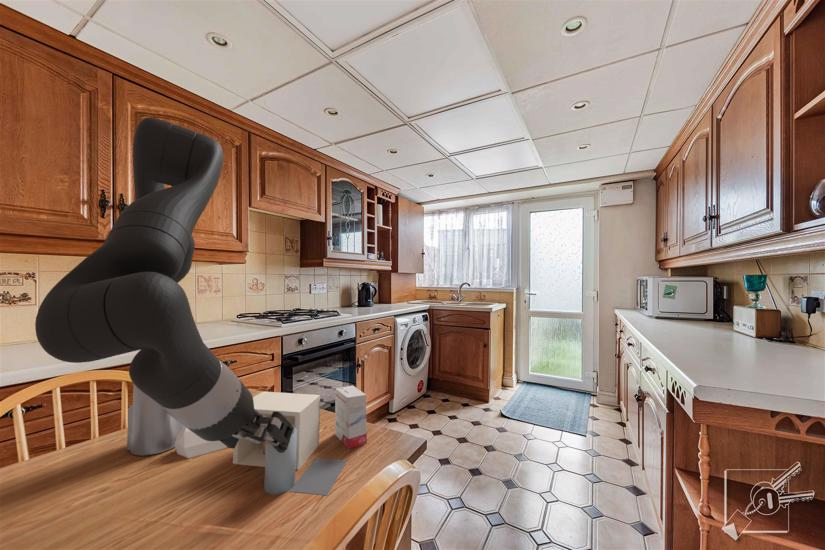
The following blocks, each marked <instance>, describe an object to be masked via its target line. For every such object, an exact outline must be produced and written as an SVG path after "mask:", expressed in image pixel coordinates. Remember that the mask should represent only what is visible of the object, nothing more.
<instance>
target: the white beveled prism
mask: <svg viewBox="0 0 825 550" xmlns="http://www.w3.org/2000/svg"><path fill="white" fill-rule="evenodd" d="M174 448H175V451H176V453H177V455H180V456H182V457H184V458H187V459H191V458H195V457H198V456H199V457H200V456H202V455H206V454H209V453H213V452H217V451H220V450H224V449H229V448H228V447H227V446H226V445H224V444H223V443H222V442H220V441H206V440H204V439H202V438H200V437H199V436H197V435H196V434H195V433H193V432H192V431H191V430H189V429H188V428H186V427H185V426H184V425H183V427H182V429H181V430H180V432H179V434H178V435H177V438H176V441H175V447H174Z"/></svg>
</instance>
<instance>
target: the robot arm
mask: <svg viewBox="0 0 825 550" xmlns="http://www.w3.org/2000/svg"><path fill="white" fill-rule="evenodd" d="M133 137H134V138H133V144H132V170H133V183H134V184H133V185H134V201H133V202H130V203H129V204H128V205H126V207H125V208H124V209H123V210H122V211H121V212H120V214H119V216H118V217H117V219H116V221H115V222H114V224H113V226H112V227H111V229H110V231H109V233H108V235H107V236H106V238H105V240H104V242H103V243H102V245H101V246H100V247H98V248H97V249H96V250H94V251H93V252H92V253H90V254H89V255H88V256H86V257H85V258H84V259H83V260H82V261H80V263H78V264H77V265H76V266H75V267H73V269H71V270H70V271H69V272H68V273H67V274H66V275H65V276H63V277H62V278H61V279H60V280H59V281H57V283H56V284H55V285H54V286H53V287H52V288H51V289H50V290H49V291H48V292H47V294H46V295H45V297H44V299H43V300H42V301H41V304H40V306H39V308H38V311H37V314H36V317H35V323H34V324H35V328H34V329H35V336H36V339H37V341H38V343H39V344H40V347H42V349H43V350H44V351H45V352H46V353H47V354H48V355H49V356H51V357H52V358H54V359H56V360H59V361H62V362H66V363H67V362H68V363H73V364H74V363H75V364H78V363H79V364H81V363H91V362H96V361H99V360H104V359H108V358H112V357H115V356H120V355H123V354H129V353H131V352H136V351H137V353H136V354H135V355H134V356H133V358H132V360H131V362H130V364H129V368H128V375H129V378H130V380H131V382H132V383H133V389H132V390H133V391H132V392H133V393H132V404H131V405H129V406H128V408H127V409H128V413H127V435H126V437H127V438H126V450H127V451H130V453H131V454H132V455H134V456H150V455H156V454H160V453H164V452H166V451H170V450H171V449H173V448H175V441H176V438H177V435H178V434H179V432H180V430H181V429H182V427H183V426H185V427H186V428H188V429H189V430H191V431H192V432H193V433H195V434H196V435H197V436H199V437H200V438H202V439H204V440H206V441H220V442H222V443H223V444H224V445H226V446H227V447H228V448H227V449H234V448H235V447H236V445H237V442H238V440H239V439H242V438H244V439H247V440H249V441H252V442H254V443H257V444H260V443H263V442H265V443H268V444H270V445H272V446H273V447H274V448H275V449H276V450H277V451H278V452H279V453H284V452H285V450H287V448H288V445H289V442H290V438H291V435H292V432H293V429H294V427H293V426H292V425H291V424H290V423H289V422H288V421H287V419H286V418H285V417H284V416H283V415H282V414H281V413H279V412H273V413H272V416H271V417H267V416H265V415H263V414H261V413H259V412H258V411H257V410H256V409H254V402H253V397H254V396H253V395H252V393H251V391H250V390H249V388H247V386H246V385H245V384H244V383H243V382H242V381H241V379H240V378H239V377H238V376H237V375H236V374H235V373H234V372H233V371H232V369H230V367H229V366H228V365H227V364H226V363H223V362H222V361H221V360H220V359H218V357H217V356H216V355H215V354H214V353H213V352H212V350H211V349H210V348H209V347H208V346H207V345H206V344H205V343H204V341H203V339H202V336H201V334H200V332H199V329H198V327H197V324H196V322H195V318H194V316H193V313H192V309H191V306H190V301H189V298H188V296H187V294H186V292H185V290H184V288H183V287H182V285H180V284H179V283H180V282H181V281H183V280H184V278H186V276H187V275H188V273H189V272H190V270H191V268H192V263H193V258H194V252H195V248H196V247H195V246H196V244H195V238H194V236H193V232H194V229H195V227H196V225H197V223H198V221H199V220H200V217H201V216H202V214H203V213H204V211H205V209H206V207H207V205H208V204H209V202H210V200H211V198H212V197H213V194H214V193H215V191H216V188H217V186H218V183H219V180H220V178H221V174H222V169H223V164H224V152H223V148H222V145H221V144H220V142H219V141H217V140H216V139H214V138H212V137H210V136H207V135H205V134H203V133H200V132H197V131H194V130H191V129H189V128H186V127H184V126H180V125H177V124H175V123H172V122H168V121H166V120H164V119H160V118H156V117H150V116H148V117H145V118H143V119H142V120H140V121H139V123H138V125H137V127H136V129H135V132H134V135H133ZM165 185H166V186H170V187H165ZM260 426H263V427H262V429H261V431H260V434H259V436H255V435H254V434H255V433H256V431H257V430H258V429H259V428H260ZM268 434H270V435H271V436H272V438H270V437H268Z"/></svg>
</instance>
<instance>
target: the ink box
mask: <svg viewBox="0 0 825 550" xmlns="http://www.w3.org/2000/svg"><path fill="white" fill-rule="evenodd" d="M334 398H335V401H334V402H335V403H334V404H335V405H334V406H335V407H334V408H335V409H334V411H335V412H334V413H335V415H334V419H335V420H334V423H335V424H334V434H335V436H336V438H338V439H339V440H340V441H341V442H342V443H343V445H344V446H345V447H346V448H347V449H353V448H355V447H359V446H362V445H366V444H367V443H368V439H367V437H368V433H367V427H368V426H367V394H366V393H364V392H363V391H361V390H360V389H359V388H357V387H356V386H354V385H347V386H342V387H336V388H335V397H334Z"/></svg>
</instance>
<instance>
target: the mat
mask: <svg viewBox="0 0 825 550" xmlns="http://www.w3.org/2000/svg"><path fill="white" fill-rule="evenodd" d="M347 462H348V460H343V459H334V458H333V459H332V458H331V459H330V458H320V457H314V458H313V460H312V462H311V463H310V464H309V465H308V467H307V468H305V471H304V472H303V473H302V474H301V475H300V476H299V477H298V478H299V479H297V481H295V484H294V486H293V487H292V488H291V489H290V490H288V491H289V492H288V493H298V494H310V495H317V496H319V495H320V496H325V497H326V496H328V495H329V493H330V492H331V490H332V489H333V486H334V485H335V483H336V481H337V479H338V478H339V476H340V474H341V473H342V471H343V469H344V467H345V466H346V464H347Z"/></svg>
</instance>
